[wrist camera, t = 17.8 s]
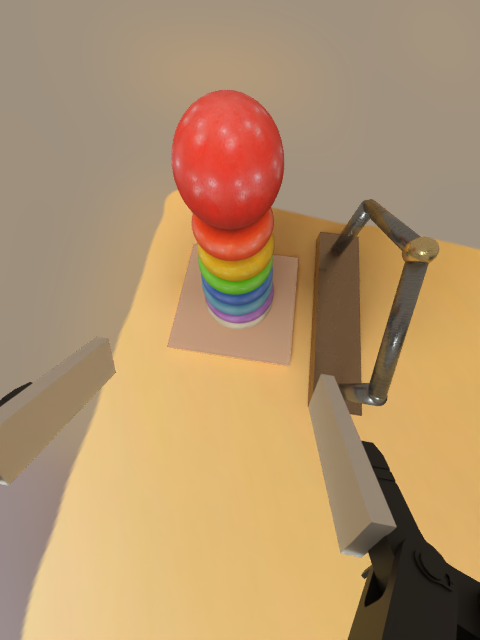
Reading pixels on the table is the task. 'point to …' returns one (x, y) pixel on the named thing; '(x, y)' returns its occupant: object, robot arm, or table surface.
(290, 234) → the table surface
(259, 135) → the stacking toy
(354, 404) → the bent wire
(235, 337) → the terracotta pad
